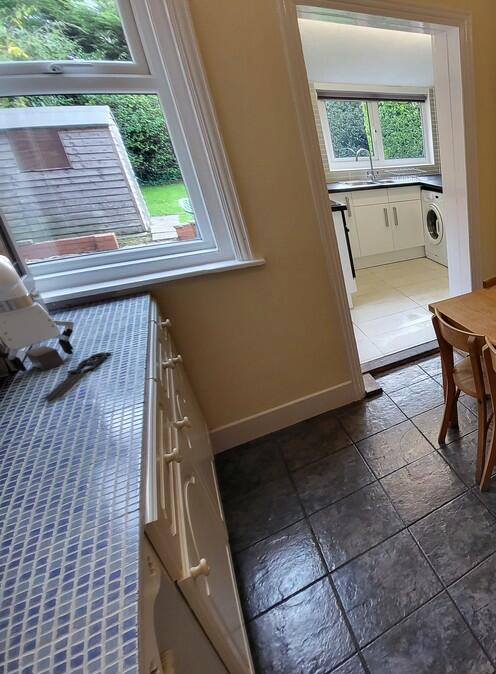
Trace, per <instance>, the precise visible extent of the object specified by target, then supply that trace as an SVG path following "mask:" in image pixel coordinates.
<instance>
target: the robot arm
mask: <svg viewBox="0 0 496 674" xmlns="http://www.w3.org/2000/svg"><path fill="white" fill-rule="evenodd" d="M39 298H40V295H39V293H37V292H34V293H31V292H29V291H28V289H27V288H26V286H25V284H24V282H23V281H22V279H21V278H20V275H19V274H18V272H17V270H16V269H15V267H14V265H13V264H12V262H11V261H10V259H9V257H7V256H4V255H0V345H1V346H2V347H4V348H6V349H5V351H4V352H2V351H0V359H6V360H8V362H9V363H10V365H11V366H12V368H13V369H14V370H16V371H20V372H23V373H24V372H26V371H28V370H27V368H26V366H25V364H24V363H23V361H22V360H21V358H20V357H18V356H17V354H18V352H19V350H22V349H25V348H28V347H31V346H35V345H37V344H41V343H43V342H46V341H49V340H52V339H55V338H56V339H58V341H57V342H58V344H59V345H60V347H61V349H62V351H63V352H64V353H65V354H67V355H73V354H74V352H73V350H74V348H73V345H72V344H71V342H70V339H71V336H72V334H73V332H74V330H73V329H74V325H75V323H74V322H73V321H70V320H53V318H52V317H51V316H50V314H49V313H48V312H47V311H46V309H44V307H43V306H42V305H41V304H40V303H39V302H36V301H35V300H37V299H39ZM59 326H61V327H62V326H63V327H64V330H63V331H62V333H61V331H60V329H59Z"/></svg>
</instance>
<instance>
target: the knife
mask: <svg viewBox="0 0 496 674" xmlns="http://www.w3.org/2000/svg"><path fill="white" fill-rule="evenodd" d="M110 356H112V354H111V352H108V351H107V352H98V353H95V354H92V355H90V357H87V358H85V359H83V360H82V361H81V362H80V363H78V364H77V366H76V369H71V370H67V371H66V373H67V374H70V375H69V376H68V377H67V378H66V379H64V380H63V381H62V382H61V383H60V384H59V385H57V386H56V388H54V389H53V390H52V391H51V392H50V393H48V394H47V395H46V396H45V398H46V399H47V401H48V402H49V403H48V404H49V405H51V404H53V403H55V402H57V401H59V400H61V399H63V398H65V397H66V396H67V395H68V394H69V393H70V392H71V391H73V390H74V389H75V388H76V387H77V386H78V385H79V384H80V383H81V382H82V381H84V379H85V378H86V377H87V376H89V374H90V373H91V372H93V371H94V370H95V369H98V368H100V365H98V364H99V363H100V364H104V363H105V361H106V360H108V357H110ZM90 361H92V362H90ZM85 365H87V366H90V367H88V368H84V369H83V370H82V368H83V367H84V366H85Z"/></svg>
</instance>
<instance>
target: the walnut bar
mask: <svg viewBox="0 0 496 674" xmlns="http://www.w3.org/2000/svg"><path fill="white" fill-rule="evenodd" d="M24 353H25V355H26V356H27V358H28V360H29V361H30V363H31V364H32V366H33V367H35V368H37V369H39V370H43V371H45V372H46V371H49V370H52V369H54V368H56V367H58V366H61V365H64V364H65V362H64V360H63V358H62V356H61V355H60V354H59V352H58V350H57V349H56V348H53V347H50V346H47V345H42V346H39V347H36V348H32V349H30V350H27V351H24Z"/></svg>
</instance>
